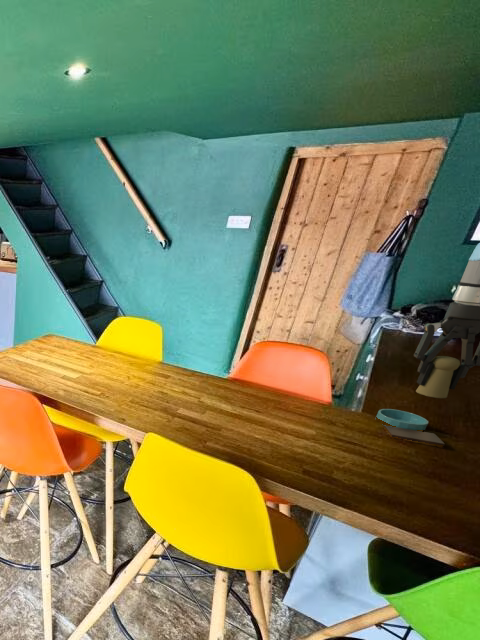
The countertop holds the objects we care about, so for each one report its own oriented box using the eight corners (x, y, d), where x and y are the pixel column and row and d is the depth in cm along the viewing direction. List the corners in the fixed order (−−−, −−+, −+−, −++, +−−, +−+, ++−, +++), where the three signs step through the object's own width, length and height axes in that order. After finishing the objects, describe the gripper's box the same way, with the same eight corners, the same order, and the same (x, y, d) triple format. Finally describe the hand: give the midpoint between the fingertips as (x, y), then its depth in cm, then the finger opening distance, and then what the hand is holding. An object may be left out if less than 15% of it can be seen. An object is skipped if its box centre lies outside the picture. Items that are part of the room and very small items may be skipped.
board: (432, 437, 120) (434, 433, 119) (442, 448, 114) (445, 443, 113) (382, 429, 125) (384, 425, 124) (390, 439, 119) (392, 434, 118)
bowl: (416, 421, 129) (419, 413, 128) (430, 436, 120) (435, 427, 119) (370, 414, 134) (373, 406, 133) (381, 428, 125) (385, 419, 124)
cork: (415, 393, 114) (431, 356, 110) (416, 388, 118) (432, 352, 114) (446, 400, 110) (465, 362, 106) (447, 394, 114) (464, 357, 110)
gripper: (429, 302, 106) (395, 384, 114) (535, 308, 97) (489, 396, 106) (418, 298, 112) (386, 376, 120) (516, 303, 103) (475, 387, 112)
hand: (434, 385), depth 113 cm, fingers closed on cork, 5 cm apart
